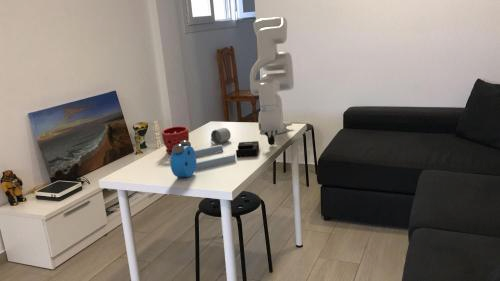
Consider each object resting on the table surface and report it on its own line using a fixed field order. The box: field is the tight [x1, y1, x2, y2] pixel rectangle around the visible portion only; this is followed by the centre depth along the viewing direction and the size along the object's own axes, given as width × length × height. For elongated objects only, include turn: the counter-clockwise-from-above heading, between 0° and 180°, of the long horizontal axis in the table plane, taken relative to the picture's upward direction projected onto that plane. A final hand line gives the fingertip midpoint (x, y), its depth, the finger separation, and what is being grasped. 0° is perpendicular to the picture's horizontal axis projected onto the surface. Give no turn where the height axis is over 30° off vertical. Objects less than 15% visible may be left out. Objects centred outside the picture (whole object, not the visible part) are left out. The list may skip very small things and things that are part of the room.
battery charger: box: [235, 140, 260, 159], centre depth 215 cm, size 13×10×4 cm
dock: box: [194, 144, 237, 170], centre depth 210 cm, size 18×20×3 cm
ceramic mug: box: [210, 127, 231, 145], centre depth 237 cm, size 11×8×8 cm
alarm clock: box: [169, 140, 197, 179], centre depth 190 cm, size 13×6×15 cm, turn 163°
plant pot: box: [161, 125, 190, 155], centre depth 226 cm, size 13×13×12 cm
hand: (271, 144), depth 221 cm, fingers closed
